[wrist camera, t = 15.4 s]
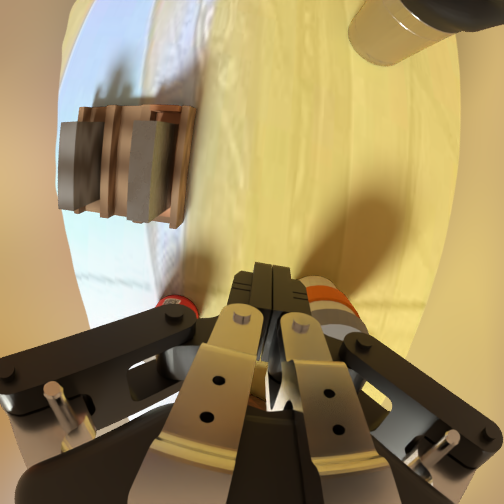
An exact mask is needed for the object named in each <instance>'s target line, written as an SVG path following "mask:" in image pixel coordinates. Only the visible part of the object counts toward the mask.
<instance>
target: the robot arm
mask: <svg viewBox="0 0 504 504" xmlns="http://www.w3.org/2000/svg"><path fill="white" fill-rule="evenodd" d="M502 24H504V0H367V1H366V3H365V4H364V5H363V7H362V8H361V10H360V11H359V12H358V13H357V15H356V16H355V18H354V19H353V20H352V22H351V23H350V26H349V29H348V35H349V39H350V42H351V44H352V46H353V48H354V49H355V50H356V52H357V53H358V54H359V55H360V56H362V57H363V58H364V59H366V60H367V61H369V62H371V63H373V64H376V65H380V66H391V65H394V64H397V63H398V62H400V61H402V60H404V59H406V58H408V57H410V56H412V55H414V54H415V53H417V52H419V51H421V50H423V49H425V48H427V47H429V46H431V45H433V44H435V43H437V42H439V41H441V40H443V39H445V38H447V37H449V36H452V35H454V34H456V33H458V32H461V31H465V32H476V31H480V30H484V29H487V28H491V27H494V26H498V25H502ZM261 351H262V352H261ZM260 355H261V361H265V362H268V368H267V372H266V375H265V387H266V404H267V411H264V410H261V409H258V408H255V407H252V406H249V405H247V403H248V398H249V393H250V389H251V384H252V379H253V374H254V369H255V363H256V360H257V361H259V359H260ZM153 356H155V357H156V359H153V360H151V361H149V362H146V363H144V364H142V365H139V366H137V367H135V368H132V369H130V370H129V368H130V367H131V366H133V365H134V364H136V363H139V362H141V361H143V360H146V359H148V358H150V357H153ZM366 381H368V382H369V383H370V384H371V385H373V386H374V387H375V388H377V389H378V390H379V391H380V392H382V393H383V394H384V395H386V396H387V397H388V398H389V399H390V400H391V402H392V410H391V412H390V411H387V410H386V409H384V408H383V407H382V406H381V405H379V404H378V403H377V402H376V401H374V400H373V399H372V398H371V397H369V396H368V395H367V394H366V393H364V392H363V391H362V390H361V389H362V387H363V386H364V384H365V382H366ZM178 391H179V394H178V396H177V398H176V400H175V403H171V404H167V405H163V406H160V407H157V408H155V409H152V410H150V411H148V412H146V413H144V414H143V415H141V416H139V417H137V418H135V419H133V420H131V421H129V422H128V423H125V424H123V425H122V426H120V427H118V428H116V429H114V430H112V431H110V432H107V433H105V434H103V435H101V436H99V437H97V438H95V436H96V431H97V430H100V429H102V428H104V427H107V426H109V425H111V424H113V423H116V422H118V421H120V420H122V419H124V418H126V417H129V416H131V415H133V414H135V413H137V412H139V411H141V410H143V409H145V408H147V407H149V406H151V405H153V404H155V403H157V402H159V401H161V400H163V399H165V398H167V397H169V396H171V395H173V394H175V393H177V392H178ZM0 404H1V407H2V408H3V410H4V411H5V413H6V414H7V415H8V417H9V419H10V423H11V426H12V429H13V432H14V435H15V438H16V441H17V444H18V446H19V449H20V452H21V454H22V457H23V459H24V462H25V464H26V467H27V470H26V471H25V472H24V474H23V475H22V476H21V478H20V479H19V481H18V484H17V486H16V490H15V504H458V503H459V501H460V499H461V498H462V496H463V494H464V492H465V490H466V489H467V486H468V485H469V483H470V481H471V479H472V477H473V475H474V473H475V471H476V469H478V468H479V467H480V466H481V465H482V464H484V463H485V462H486V461H487V460H488V459H489V458H490V457H491V456H493V455H494V454H495V453H496V452H497V451H498V450H499V449H500V448H501V446H502V443H503V436H502V432H501V430H500V428H499V427H498V426H497V425H496V424H495V423H494V422H493V421H491V420H490V419H489V418H487V417H486V416H484V415H483V414H482V413H480V412H479V411H477V410H476V409H475V408H473V407H472V406H470V405H469V404H467V403H466V402H464V401H463V400H462V399H460V398H459V397H458V396H456V395H454V394H453V393H452V392H450V391H449V390H447V389H446V388H445V387H443V386H442V385H440V384H439V383H438V382H436V381H435V380H433V379H432V378H431V377H429V376H428V375H426V374H425V373H423V372H422V371H420V370H419V369H418V368H417V367H415V366H414V365H412V364H411V363H409V362H408V361H407V360H405V359H404V358H402V357H401V356H400V355H398V354H397V353H395V352H394V351H392V350H391V349H390V348H388V347H387V346H385V345H384V344H383V343H381V342H380V341H378V340H377V339H375V338H374V337H372V336H371V335H369V334H366V333H362V332H351V333H348V334H347V335H346V336H345V337H344V340H343V341H342V340H339V339H336V338H333V337H330V336H328V335H326V334H324V333H323V331H322V328H321V325H320V323H319V322H318V321H317V320H316V319H315V318H313V317H312V315H311V310H310V305H309V301H308V295H307V290H306V287H305V286H304V284H303V283H302V282H301V281H300V280H294V279H291V274H290V268H289V267H283V266H277V265H273V266H272V265H271V264H265V263H259V262H255V265H254V270H253V273H251V272H245V271H240V272H239V273H237V274H236V275H235V276H234V280H233V284H232V288H231V291H230V295H229V299H228V302H227V306H225V307H224V308H223V309H222V310H221V312H220V315H218V316H216V317H212V318H197V317H196V313H195V312H194V311H193V310H192V309H191V308H189V307H187V306H185V305H181V304H165V305H161V306H158V307H156V308H153V309H150V310H147V311H144V312H141V313H138V314H135V315H132V316H129V317H126V318H123V319H120V320H117V321H114V322H111V323H108V324H105V325H102V326H99V327H96V328H93V329H90V330H87V331H84V332H81V333H79V334H75V335H72V336H69V337H66V338H63V339H60V340H57V341H54V342H50V343H47V344H44V345H41V346H38V347H34V348H31V349H28V350H25V351H21V352H18V353H15V354H12V355H9V356H5V357H2V358H0Z"/></svg>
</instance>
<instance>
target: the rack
mask: <svg viewBox="0 0 504 504" xmlns="http://www.w3.org/2000/svg"><path fill="white" fill-rule="evenodd" d="M195 115H196V108H194V107H191V106H179V105H149V104H142V106H119V105H107V107H92V108H91V107H79V115H78V121H77V122H63V123H61V130H60V142H59V160H58V206H59V209H63V210H70V211H74V213H76V214H80V213H82V212H84V211H91V212H98V213H100V217H102V218H109V217H111V216H113V215H118V216H125V217H127V193H128V174H129V161H130V149H131V139H132V130H133V122H134V120H141V121H161V122H168V123H174V124H179V129H178V136H177V144H176V152H175V161H174V170H173V180H172V191H171V203H170V208H169V209H167V210H166V211H165V212H163V213H162V214H160V215H159V216H158V217H156V218H155V219H153V220H152V221H158V222H164V223H170V225H169V228H172V229H177V228H178V227H179V226H180V225H181V224H182V223H183V217H184V206H185V195H186V185H187V176H188V167H189V159H190V151H191V143H192V136H193V129H194V122H195ZM132 222H134V223H141V224H142V223H143V222H138V221H132Z"/></svg>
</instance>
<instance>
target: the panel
mask: <svg viewBox="0 0 504 504" xmlns="http://www.w3.org/2000/svg"><path fill="white" fill-rule="evenodd" d="M178 129H179V124H174V123H168V122H161V121H141V120H134V122H133V130H132V139H131V149H130V161H129V174H128V193H127V220H132V221H138V222H145V223H149V222H151V221H152V220H153V219H155V218H156V217H158V216H159V215H160V214H162V213H163V212H165V211H166V210H167V209H169V208H170V203H171V191H172V180H173V170H174V161H175V152H176V144H177V136H178Z"/></svg>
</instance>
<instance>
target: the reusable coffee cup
mask: <svg viewBox="0 0 504 504" xmlns="http://www.w3.org/2000/svg"><path fill="white" fill-rule="evenodd" d="M299 280H300V281H301V282H302V283H303V284H304V286H305V287H306V290H307V295H308V301H309V305H310V310H311V315H312V317H313V318H315V319H316V320H317V321H318V322H319V323H320V325H321V328H322V331H323V333H324V334H326V335H328V336H330V337H333V338H336V339H339V340H342V341H343V340H344V337H345V336H346V335H347V334H348V333H351V332H362V333H366V334H369V333H368V330H367V328H366V326H365V324H364V323H363V322H362V320H361V319H360V317H359V315H358V313H357V311H356V310H355V308H354V307H353V306H352V304H351V303H350V301H349V300H348V299H347V297H346V296H345V295H344V294H343V293H342V292H340V291H339V290H338V289H337V288H336V287H335V285H334V284H333V283H332V282H331V281H330V280H328V279H326V278H324V277H321V276H307V277H304V278H301V279H299Z"/></svg>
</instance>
